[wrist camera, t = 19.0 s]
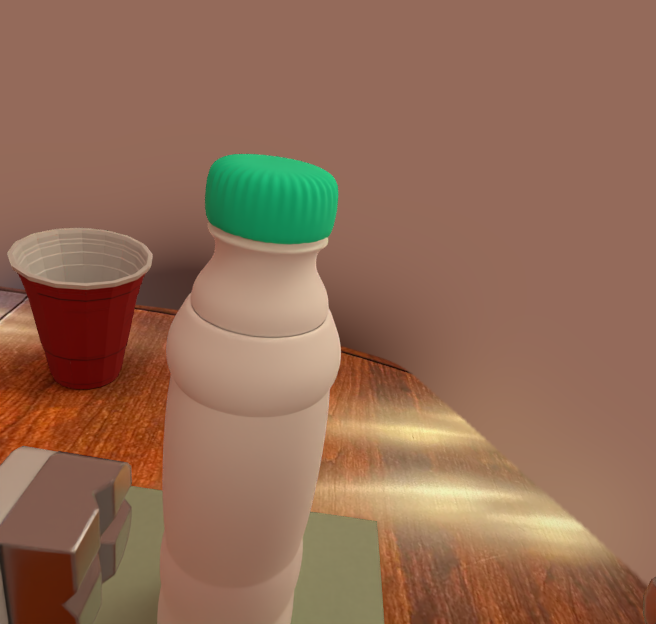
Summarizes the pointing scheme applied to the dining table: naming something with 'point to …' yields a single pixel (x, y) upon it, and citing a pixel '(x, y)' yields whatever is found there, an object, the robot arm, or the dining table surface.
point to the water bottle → (248, 396)
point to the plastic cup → (82, 298)
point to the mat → (312, 585)
